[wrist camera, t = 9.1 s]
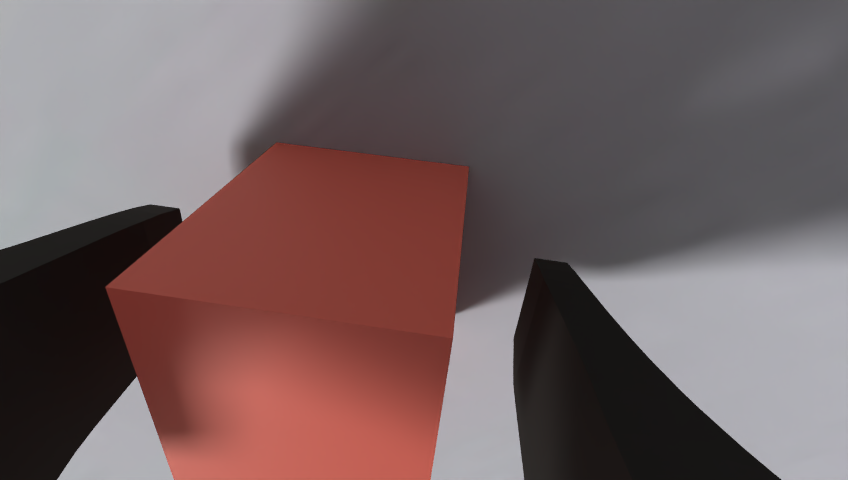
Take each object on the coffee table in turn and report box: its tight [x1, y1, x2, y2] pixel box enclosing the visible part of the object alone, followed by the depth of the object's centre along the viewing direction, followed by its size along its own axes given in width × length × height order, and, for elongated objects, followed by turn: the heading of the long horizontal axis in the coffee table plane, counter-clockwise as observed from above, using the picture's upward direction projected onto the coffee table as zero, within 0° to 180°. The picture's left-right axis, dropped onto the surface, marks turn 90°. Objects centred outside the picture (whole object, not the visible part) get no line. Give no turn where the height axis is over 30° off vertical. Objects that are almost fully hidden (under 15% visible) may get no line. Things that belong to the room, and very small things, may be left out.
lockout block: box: [105, 142, 469, 480], centre depth 8 cm, size 4×4×5 cm
